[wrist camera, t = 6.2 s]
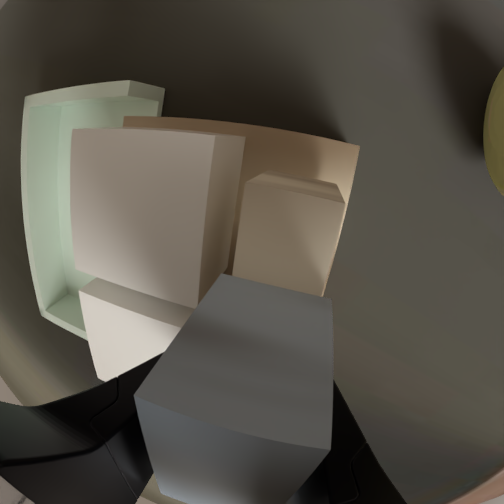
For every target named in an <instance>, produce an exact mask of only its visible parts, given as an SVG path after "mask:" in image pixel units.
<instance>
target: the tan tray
mask: <svg viewBox="0 0 504 504" xmlns="http://www.w3.org/2000/svg"><path fill="white" fill-rule="evenodd" d="M123 127H147V128H165V129H179V130H191V131H201V132H211V133H219V134H228V135H235V136H243V137H246V139H245V146H244V152H243V159H242V166H241V172H240V179H239V186H238V193H237V200H236V207H235V215H234V222H233V229H232V237H231V244H230V252H229V259H228V267H227V269H226V270H225V271H224V273H223V274H226V275H230V276H232V272H233V265H234V258H235V251H236V244H237V237H238V230H239V223H240V216H241V209H242V202H243V196H244V189H245V182H247V181H249V180H251V179H253V178H254V177H256V176H258V175H260V174H262V173H264V172H265V171H267V170H274V171H279V172H284V173H289V174H294V175H299V176H304V177H309V178H313V179H318V180H322V181H327V182H331V183H335V184H337V186H338V188H339V190H340V192H341V195H342V197H343V199H344V201H345V203H346V204H345V209H344V213H343V217H342V221H341V225H340V229H339V233H338V237H337V241H336V245H335V248H334V252H333V256H332V259H331V263H330V267H329V270H328V274H327V277H326V281H325V284H324V288H323V291H322V294H321V297H323V294H324V290H325V287H326V284H327V280H328V277H329V273H330V270H331V266H332V263H333V259H334V255H335V252H336V248H337V244H338V241H339V237H340V233H341V229H342V225H343V221H344V217H345V213H346V209H347V204H348V200H349V196H350V191H351V187H352V182H353V178H354V173H355V168H356V164H357V159H358V154H359V148H360V146H357V145H353V144H349V143H345V142H341V141H337V140H332V139H328V138H323V137H318V136H314V135H309V134H304V133H298V132H293V131H287V130H282V129H276V128H269V127H263V126H256V125H249V124H241V123H233V122H224V121H215V120H204V119H192V118H176V117H154V116H124V119H123Z"/></svg>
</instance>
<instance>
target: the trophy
mask: <svg viewBox="0 0 504 504" xmlns="http://www.w3.org/2000/svg"><path fill="white" fill-rule="evenodd" d="M483 146H484V155H485V161H486V165H487V169H488V172H489V174H490V177H491V179H492V181H493V182H494V184H495V186H496V188H497V189H498V190H499V192H500V193H501V194H502V195H503V196H504V67H503V68H502V70H501V71H500V72H499V74H498V76H497V78H496V79H495V81H494V84H493V86H492V89H491V92H490V95H489V98H488V102H487V107H486V111H485V119H484V130H483Z"/></svg>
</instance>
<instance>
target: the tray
mask: <svg viewBox="0 0 504 504" xmlns="http://www.w3.org/2000/svg"><path fill="white" fill-rule="evenodd" d="M164 93H165V88H161V87H157V86H153V85H149V84H145V83H141V82H137V81H132V80H124V81H113V82H103V83H95V84H87V85H80V86H74V87H68V88H62V89H57V90H52V91H47V92H42V93H37V94H33V95H29V96H25V102H24V111H23V122H22V139H21V190H22V206H23V218H24V228H25V236H26V243H27V250H28V256H29V262H30V268H31V273H32V278H33V283H34V288H35V292H36V297H37V301H38V305H39V309H40V312H41V316H43V317H44V318H46V319H48V320H50V321H52V322H53V323H55V324H57V325H59V326H61V327H62V328H64V329H66V330H68V331H70V332H72V333H74V334H76V335H78V336H80V337H82V338H84V339H86V340H88V338H87V333H86V329H85V324H84V319H83V314H82V308H81V303H80V297H79V291H78V290H80V289H81V288H82V287H84V286H85V285H86V284H88V283H89V282H91V281H92V280H93V279H95V278H96V277H95V276H92V275H90V274H87V273H84V272H81V271H79V270H76V269H75V261H74V252H73V241H72V228H71V209H70V155H71V137H72V129H78V128H97V127H123V119H124V116H154V117H161V114H162V107H163V100H164Z"/></svg>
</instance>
